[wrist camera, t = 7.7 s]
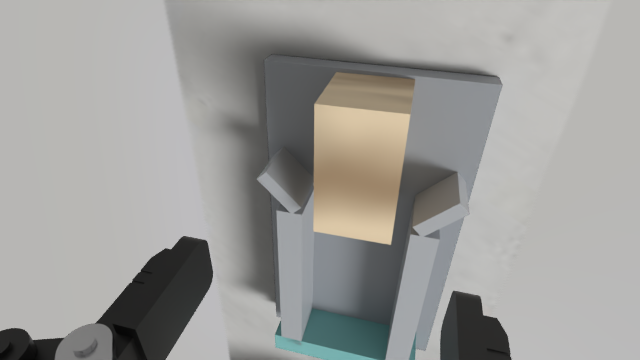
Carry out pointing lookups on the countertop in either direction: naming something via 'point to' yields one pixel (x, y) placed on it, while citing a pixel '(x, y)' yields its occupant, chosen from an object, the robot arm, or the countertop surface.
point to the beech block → (360, 154)
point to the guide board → (410, 219)
